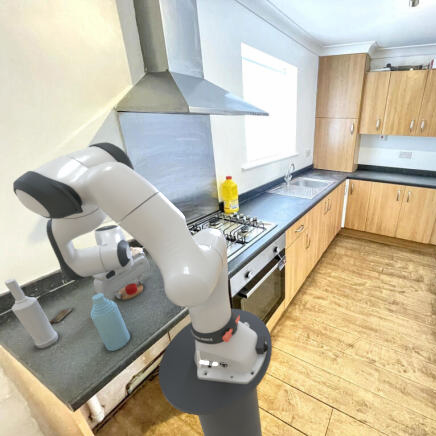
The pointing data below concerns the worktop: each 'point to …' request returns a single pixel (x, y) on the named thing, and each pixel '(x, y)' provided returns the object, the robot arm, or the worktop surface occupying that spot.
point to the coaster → (126, 296)
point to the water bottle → (109, 322)
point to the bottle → (32, 316)
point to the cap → (131, 288)
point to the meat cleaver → (60, 315)
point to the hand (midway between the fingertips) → (129, 290)
